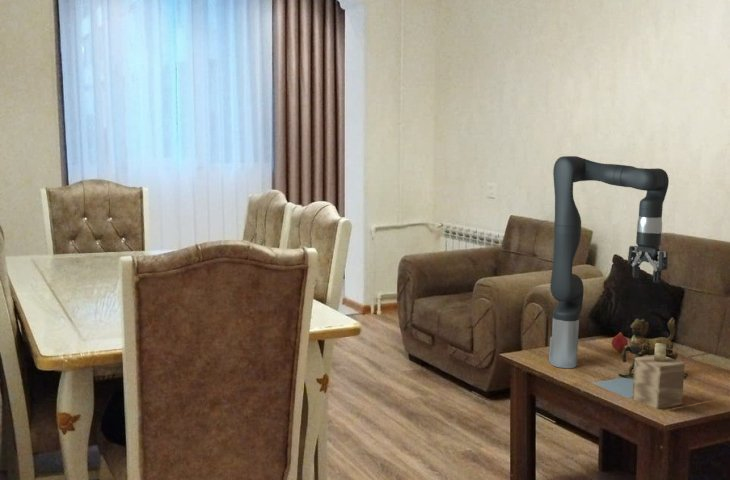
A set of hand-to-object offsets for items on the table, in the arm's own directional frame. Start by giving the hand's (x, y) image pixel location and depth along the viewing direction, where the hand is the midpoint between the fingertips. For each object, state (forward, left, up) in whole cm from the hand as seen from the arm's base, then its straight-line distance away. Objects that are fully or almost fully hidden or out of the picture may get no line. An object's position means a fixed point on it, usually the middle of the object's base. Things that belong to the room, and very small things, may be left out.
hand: (646, 280), depth 241 cm
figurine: (-7, +14, -36) cm, 39 cm away
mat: (-1, -4, -36) cm, 36 cm away
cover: (+13, -6, -36) cm, 39 cm away
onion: (-34, +25, -36) cm, 56 cm away
